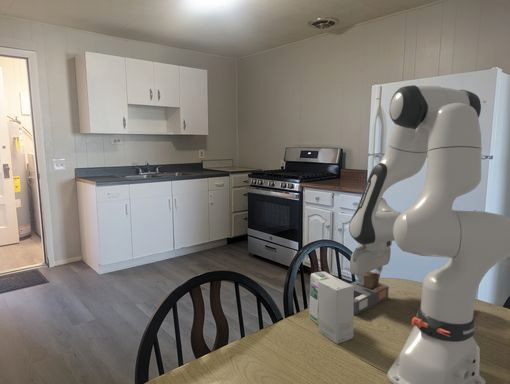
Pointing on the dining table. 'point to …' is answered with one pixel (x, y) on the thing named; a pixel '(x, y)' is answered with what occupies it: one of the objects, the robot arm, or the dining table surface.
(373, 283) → the walnut plug
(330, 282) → the skincare box
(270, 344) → the dining table surface
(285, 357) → the dining table surface
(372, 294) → the socket block
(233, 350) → the dining table surface
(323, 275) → the syrup box
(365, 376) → the dining table surface
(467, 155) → the robot arm
